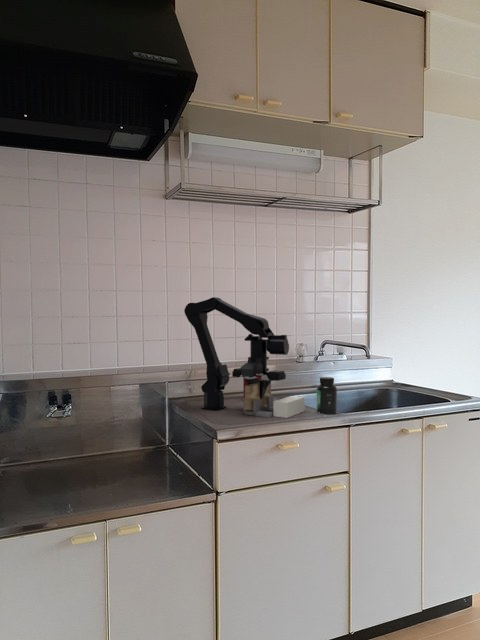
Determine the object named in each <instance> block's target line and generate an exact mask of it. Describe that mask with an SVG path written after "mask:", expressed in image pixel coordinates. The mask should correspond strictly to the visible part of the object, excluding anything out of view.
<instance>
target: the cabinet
mask: <svg viewBox="0 0 480 640" xmlns="http://www.w3.org/2000/svg"><path fill="white" fill-rule="evenodd" d="M305 400H306V399H305V396H296V395H291V396H287V397H283V398H280V399H277V400H274V395H271V396H268V397H267V405H265V406H262V407H260V399H257V400H253V409H251V410H246V409H245V399H244V398H243V400H242V404H243V407H242V410H243V411H242V412H243V415H249V416H255V417H256V416H257V417H262V418H263V417H264V418H271V417H275V418H276V417H277V418H285V419H287V418H290V417H293V416H297V415H299V414H302V413H304V411H305V403H306V402H305ZM301 412H302V413H301Z"/></svg>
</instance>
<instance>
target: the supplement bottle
mask: <svg viewBox="0 0 480 640" xmlns="http://www.w3.org/2000/svg"><path fill="white" fill-rule="evenodd" d="M334 384H335V378H334V377H331V376H330V377H329V376H321V377H319V385H318V386H317V387H316V412H317V413H318V412H320V413H319V414H321V413H335V414H336V413H337V412H338V409H337V408H338V389H337V386H336V385H334Z"/></svg>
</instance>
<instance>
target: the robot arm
mask: <svg viewBox="0 0 480 640" xmlns="http://www.w3.org/2000/svg"><path fill="white" fill-rule="evenodd" d="M215 310H216V311H217V312H219V313H221V314H223V315H225V316H226V317H229V318H230V319H232V320H234V321H236V322H238V323H239V324H241V325H242V327H243V328H244V329H245V330H246V331H248V332H249V334H248V335H247V336H246V337H245V338H244V342H246V341H247V342H250V347H249V349H250V350H249V351H250V356H249V357H248V358H247V362H246V363H244V364H243V365H241V366H240V367H237V368H234V369H233V370H232V373H230V372H229V370H228V369H229V368H228V365H227V364H225V363H224V364H222V362H221V361H220V360H219V356H218V354H217V351H216V348H215V345H214V341H213V339H212V335H211V333H210V330H209V327H208V314H209V313H211V312H213V311H215ZM183 311H184V315H185V317H186V319H187V321H188V322H189V323H190V325H191V326H192V327H193V329H194V331H195V333H196V337H197V340H198V343H199V345H200V349H201V351H202V355H203V358H204V361H205V364H206V371H205V374H206V381H205V382H204V383H203V384H202V385H201V386H200V388H201V391H202V393H203V406H201V407H200V408H201V409H203V410H211V411H212V410H213V411H218V410H221V409H224V408H226V405H224V404H225V402H224V401H225V396H224V390H225V387H226V385H228V384H229V381H230V375H232V378H240V377H242V378H243V377H245V378H244V380H246V381H247V382H248V383H249V385H250V384H255V383H258V382H259V383H260V399H263V397H264V394H265V392H266V390H267V388H268V386H269V384H270V382H271V383H272V381H276V382H277V381H282V380H283V381H284V380H286V378H287V374H286V372H285V371H284V370H269V369H270V368H269V367H267V366H268V362H267V361H268V360H269V358H270V357H269V356H268V353H269V354H270V355H278V356H279V355H281V356H287V355H288V354H289V351H290V344H289V339H288V335H287V334H281V335H280V334H279V335H276V334H274V332H273V331H272V329H271V327H270V324H269V321H268V320H267V319H266V318H265V317H262V316H261V317H260V316H257V315H254V314H250V313H247V312H245V311H243V310H241V309H239V308H237V307H236V306H234V305H232V304H231V303H228V302H227V301H225V300H223V299H222V298H220V297H216V296H215V297H214V296H213V297H210V298H208V299H205V300H201V301H199V302H198V301H197V302H189V303H187V304H186V306H185V308H184V309H183ZM256 376H257V377H256ZM258 377H262V380H259V378H258Z"/></svg>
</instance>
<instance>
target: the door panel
mask: <svg viewBox="0 0 480 640" xmlns="http://www.w3.org/2000/svg"><path fill="white" fill-rule="evenodd" d="M268 396H272V381H271V382H270V384H269V386H268V388H267V390H266V392H265V394H264V397H263V399H260V383H255V384H250V385H246V386H245V409H246V410H253V400H257V399H260V407H262V406H267V397H268Z"/></svg>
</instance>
